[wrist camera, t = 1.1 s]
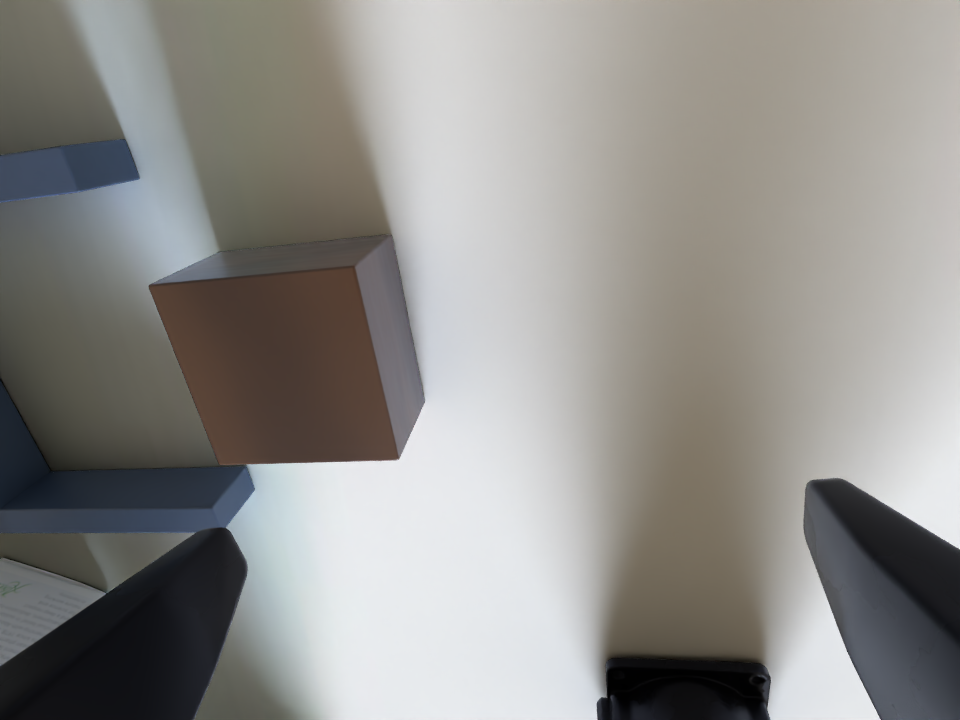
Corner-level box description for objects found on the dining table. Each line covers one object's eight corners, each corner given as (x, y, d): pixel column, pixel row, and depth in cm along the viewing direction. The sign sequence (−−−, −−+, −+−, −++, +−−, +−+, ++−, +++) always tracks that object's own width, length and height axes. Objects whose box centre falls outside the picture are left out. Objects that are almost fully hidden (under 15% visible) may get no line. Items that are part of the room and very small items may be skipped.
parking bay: (125, 138, 17) (59, 146, 15) (256, 489, 23) (222, 533, 20) (-141, 178, 19) (-235, 190, 17) (40, 493, 25) (-12, 534, 22)
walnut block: (392, 233, 17) (354, 265, 14) (425, 402, 20) (399, 461, 17) (218, 251, 18) (146, 285, 15) (270, 409, 21) (218, 465, 18)
